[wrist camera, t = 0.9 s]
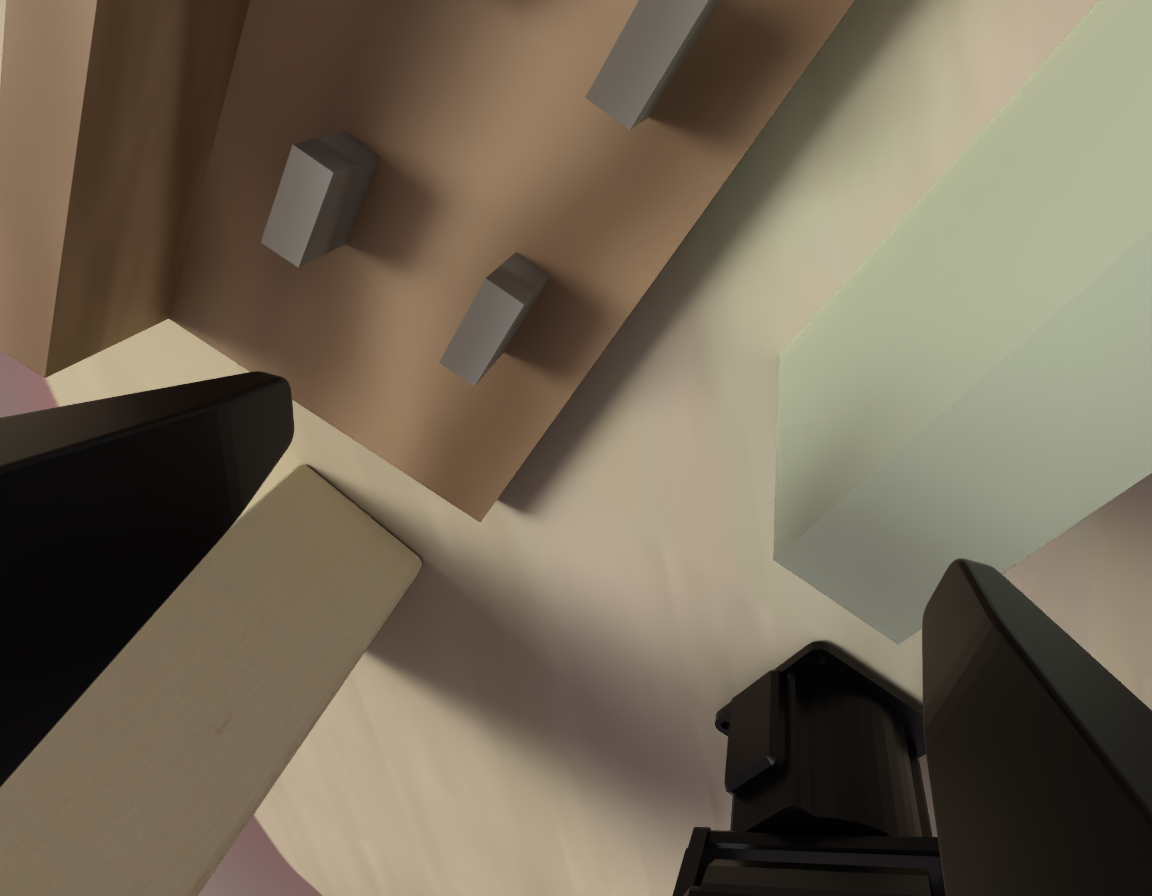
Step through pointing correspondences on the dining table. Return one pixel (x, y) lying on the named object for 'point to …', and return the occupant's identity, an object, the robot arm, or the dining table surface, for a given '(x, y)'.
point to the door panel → (984, 347)
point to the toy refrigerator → (204, 703)
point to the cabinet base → (376, 192)
